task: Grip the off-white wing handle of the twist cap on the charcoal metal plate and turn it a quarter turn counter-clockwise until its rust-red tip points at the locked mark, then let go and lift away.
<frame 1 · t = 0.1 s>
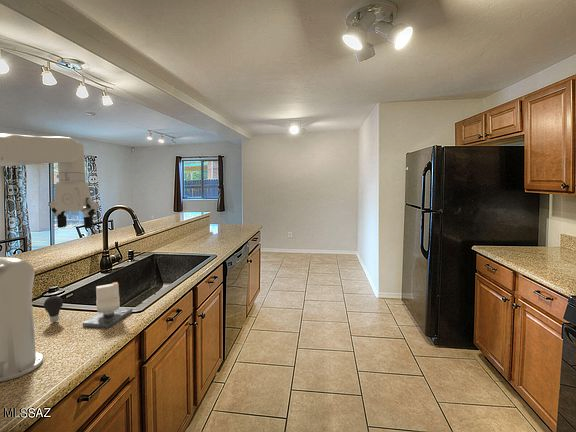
hand: (75, 227, 105), 37 cm above the counter, tool pointing down, fingers open, 9 cm apart
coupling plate: (108, 319, 116), on the counter
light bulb: (54, 322, 112), on the counter
twist cap: (107, 296, 115), point 9 cm above the counter, hinge at 0.0°
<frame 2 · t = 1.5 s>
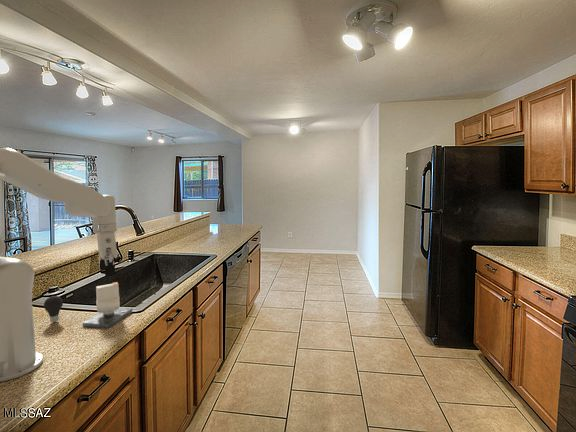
hand: (107, 272, 114), 18 cm above the counter, tool pointing down, fingers open, 9 cm apart
nothing on the counter moved.
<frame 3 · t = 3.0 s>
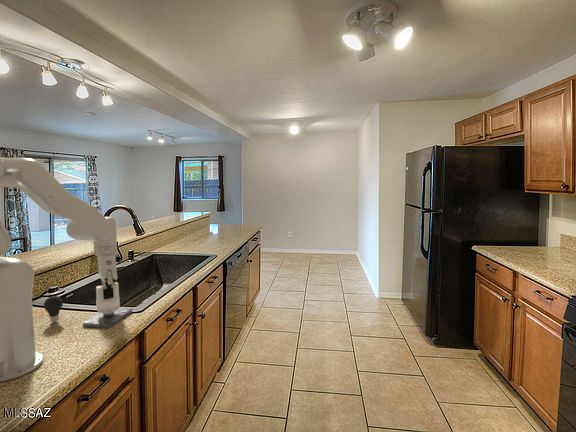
hand: (107, 296, 115), 9 cm above the counter, tool pointing down, fingers closed on twist cap, 2 cm apart
twist cap: (107, 296, 115), point 9 cm above the counter, hinge at 0.0°, touching gripper
everything else where it was.
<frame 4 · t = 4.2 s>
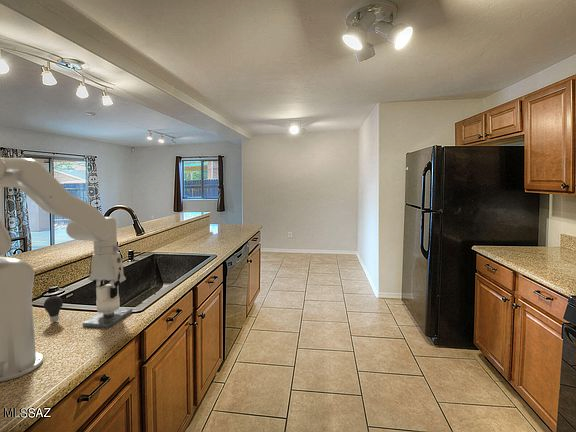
hand: (108, 296, 115), 9 cm above the counter, tool pointing down, fingers closed on twist cap, 3 cm apart
twist cap: (107, 296, 115), point 9 cm above the counter, hinge at 30.3°, touching gripper
everything else where it was.
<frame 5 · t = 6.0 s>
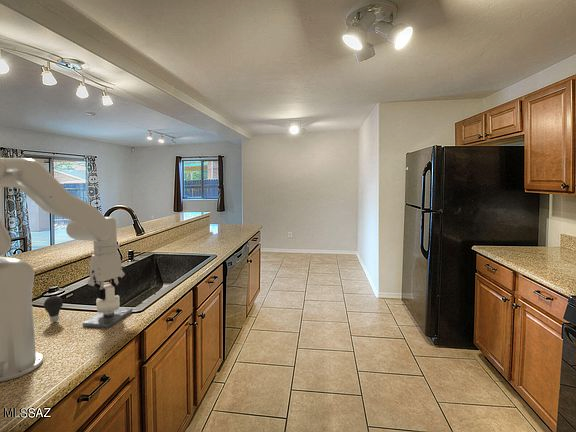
hand: (107, 296, 115), 9 cm above the counter, tool pointing down, fingers closed on twist cap, 4 cm apart
twist cap: (107, 296, 115), point 9 cm above the counter, hinge at 96.4°, touching gripper
everything else where it was.
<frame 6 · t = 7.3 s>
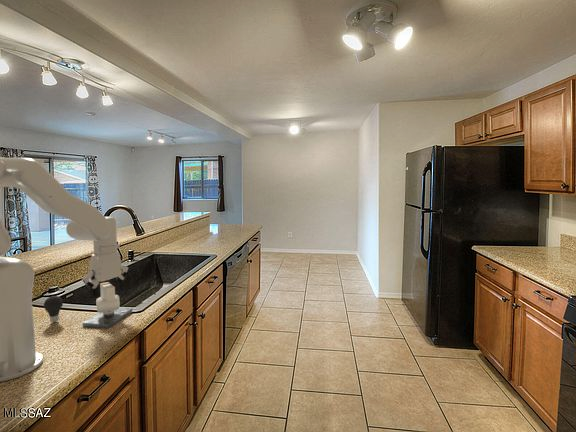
hand: (107, 293, 115), 10 cm above the counter, tool pointing down, fingers open, 9 cm apart
twist cap: (107, 296, 115), point 9 cm above the counter, hinge at 98.6°
everything else where it was.
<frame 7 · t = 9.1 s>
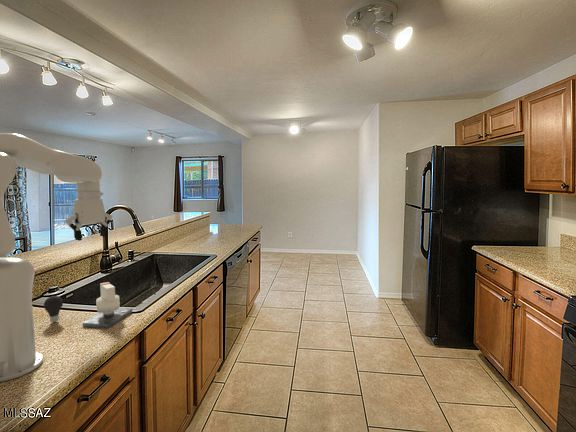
hand: (91, 238, 120), 30 cm above the counter, tool pointing down, fingers open, 9 cm apart
nothing on the counter moved.
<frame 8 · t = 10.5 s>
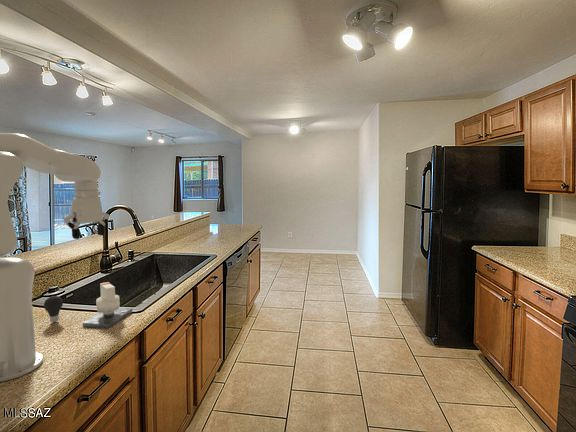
hand: (88, 236, 122), 30 cm above the counter, tool pointing down, fingers open, 9 cm apart
nothing on the counter moved.
at the end: twist cap at +99° (first picture: +0°); the gripper is holding nothing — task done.
